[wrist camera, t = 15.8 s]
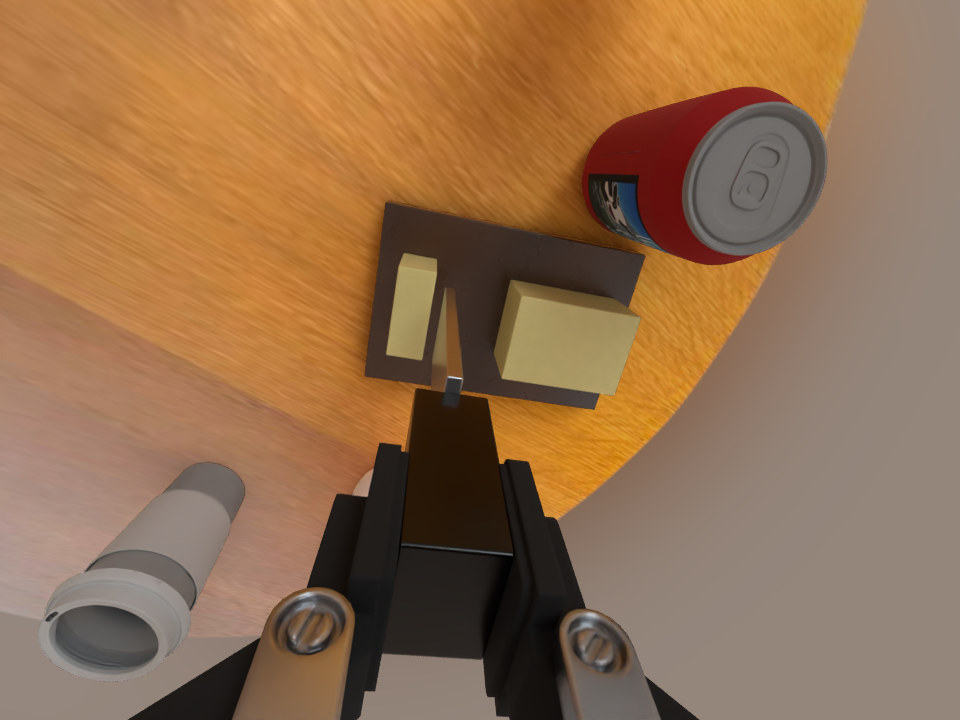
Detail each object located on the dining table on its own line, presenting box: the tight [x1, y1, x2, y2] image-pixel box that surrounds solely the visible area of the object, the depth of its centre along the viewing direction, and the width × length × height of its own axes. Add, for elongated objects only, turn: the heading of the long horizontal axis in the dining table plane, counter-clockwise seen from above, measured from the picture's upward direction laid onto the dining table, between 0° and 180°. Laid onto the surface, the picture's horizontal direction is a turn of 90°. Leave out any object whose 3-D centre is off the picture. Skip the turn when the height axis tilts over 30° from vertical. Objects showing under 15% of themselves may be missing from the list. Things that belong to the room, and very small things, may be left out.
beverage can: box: [582, 87, 827, 265], centre depth 23 cm, size 7×7×12 cm
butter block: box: [494, 280, 641, 396], centre depth 28 cm, size 7×5×4 cm
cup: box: [38, 463, 245, 682], centre depth 28 cm, size 7×7×12 cm
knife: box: [382, 287, 515, 660], centre depth 16 cm, size 2×4×16 cm, turn 169°
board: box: [365, 201, 645, 410], centre depth 30 cm, size 16×11×2 cm
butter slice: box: [386, 253, 437, 360], centre depth 26 cm, size 2×5×4 cm, turn 168°
